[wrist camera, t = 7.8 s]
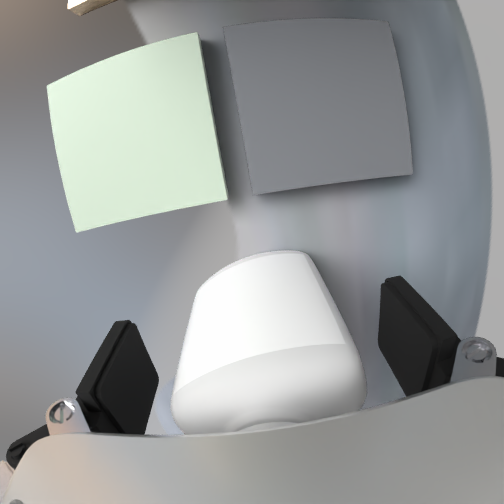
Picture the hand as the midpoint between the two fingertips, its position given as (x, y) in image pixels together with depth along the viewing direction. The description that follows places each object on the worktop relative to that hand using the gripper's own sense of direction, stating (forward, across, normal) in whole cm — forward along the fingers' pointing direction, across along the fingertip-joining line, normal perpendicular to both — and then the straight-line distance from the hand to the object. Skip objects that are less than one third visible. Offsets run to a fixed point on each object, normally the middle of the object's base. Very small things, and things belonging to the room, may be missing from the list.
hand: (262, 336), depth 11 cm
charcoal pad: (+4, -4, -8) cm, 10 cm away
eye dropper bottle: (+4, 0, 0) cm, 4 cm away
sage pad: (+4, +4, -8) cm, 10 cm away
